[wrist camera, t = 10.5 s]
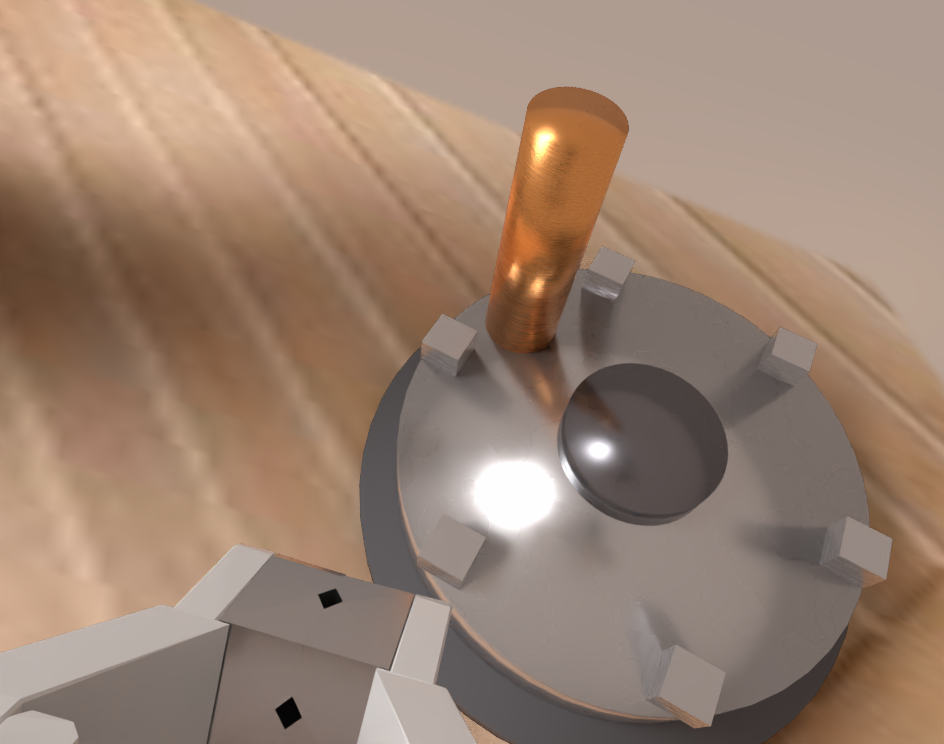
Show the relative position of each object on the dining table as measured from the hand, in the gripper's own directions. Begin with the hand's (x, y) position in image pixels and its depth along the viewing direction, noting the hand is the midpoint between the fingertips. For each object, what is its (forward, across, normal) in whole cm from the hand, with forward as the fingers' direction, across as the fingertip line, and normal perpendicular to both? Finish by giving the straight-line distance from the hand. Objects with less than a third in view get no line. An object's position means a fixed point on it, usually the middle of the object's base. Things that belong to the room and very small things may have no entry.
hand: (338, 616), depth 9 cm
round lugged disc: (+18, -7, +3) cm, 20 cm away
